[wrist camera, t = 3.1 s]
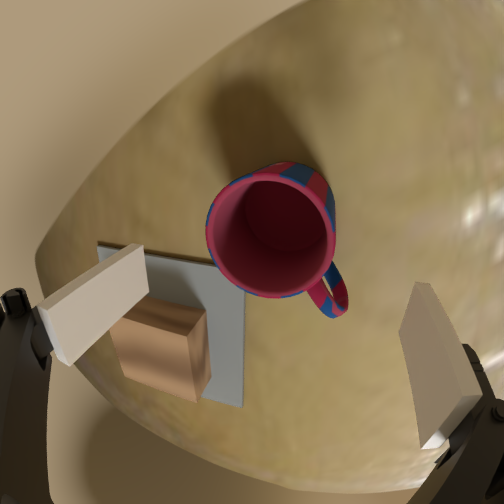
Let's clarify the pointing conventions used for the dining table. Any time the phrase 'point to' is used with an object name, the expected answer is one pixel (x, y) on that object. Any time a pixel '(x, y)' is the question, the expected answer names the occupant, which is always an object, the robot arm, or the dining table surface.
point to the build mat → (218, 315)
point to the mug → (278, 235)
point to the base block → (164, 347)
